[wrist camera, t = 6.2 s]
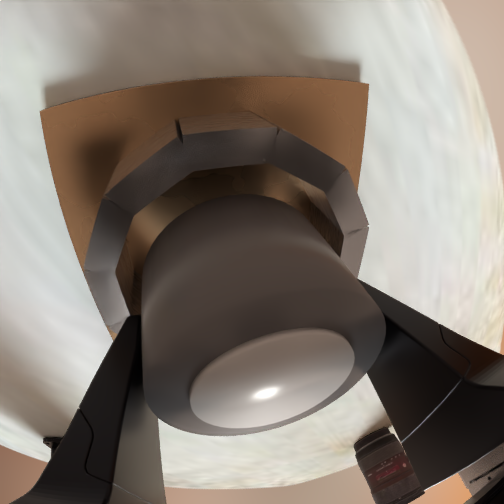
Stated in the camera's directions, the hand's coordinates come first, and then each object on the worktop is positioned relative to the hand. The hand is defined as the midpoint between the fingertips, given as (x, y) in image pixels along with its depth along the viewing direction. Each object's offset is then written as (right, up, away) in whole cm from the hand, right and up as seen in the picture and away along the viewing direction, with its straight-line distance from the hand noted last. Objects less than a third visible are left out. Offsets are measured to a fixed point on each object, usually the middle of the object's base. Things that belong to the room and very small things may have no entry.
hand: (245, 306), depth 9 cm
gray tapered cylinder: (0, +1, +1) cm, 1 cm away
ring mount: (-1, +3, +4) cm, 5 cm away
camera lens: (+20, -30, +34) cm, 49 cm away
